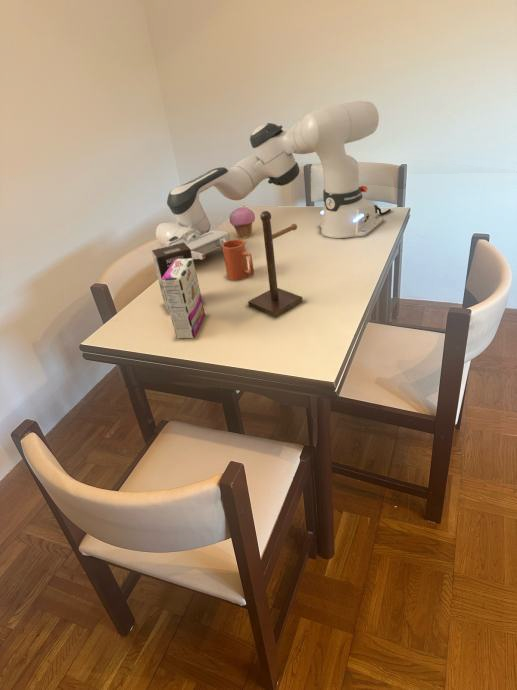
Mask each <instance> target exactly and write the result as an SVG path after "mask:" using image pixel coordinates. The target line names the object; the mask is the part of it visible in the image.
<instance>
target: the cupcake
mask: <svg viewBox="0 0 517 690" xmlns="http://www.w3.org/2000/svg"><path fill="white" fill-rule="evenodd" d="M228 219H229V223H230V224H231V225H232V226H233V227H234V230H235V232H236V235H237V236H238V237H239V238H245V237H246V238H248V237H249V238H250V237H251V235H252V232H253V229H252V228H253V223H254V222H255V220H256V216H255V212H254V211H253V210H251V209H250V208H249V207H247V206H242V207H238V208H236V209H234V210H233V211H232V212H231V213H230V214H229V218H228Z"/></svg>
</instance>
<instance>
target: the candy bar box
mask: <svg viewBox="0 0 517 690" xmlns="http://www.w3.org/2000/svg"><path fill="white" fill-rule="evenodd" d="M161 282H162V285H163V289H164V293H165V297H166V300H167V304H168V307H169V311H170V313H169V314H170V320H171V322H172V326H173V331H174V333H175V337H176V339H178V340H184V339H187V340H189V339H191V340H192V339H195V338H196V336H197V334H198V332H199V330H200V328H201V326H202V324H203V321H204V319H205V318H206V316H207V315H206V312H205V307H204V303H203V297H202V294H201V288H200V284H199V280H198V275H197V269H196V267H195V261H194V259H193V258H183V259H175V260H174V261H173V263H172V264H171V266H170V267H169V269H168V270H167V271H166V273H165V274H164V276H163V277H162V279H161ZM169 311H168V312H169Z"/></svg>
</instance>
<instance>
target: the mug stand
mask: <svg viewBox="0 0 517 690" xmlns="http://www.w3.org/2000/svg"><path fill="white" fill-rule="evenodd" d="M259 216H260V220H261V223H262V234H263V240H264V241H263V242H264V251H265V259H266V268H267V276H268V285H269V286H268V287H269V290H266V291H265V292H263V293H261V294H259V295H258V296H256V297H253V298H252V299H250V300H248V301H247V304H248V307H249V308H252V309H254V310H256V311H258V312H261V313H263V314H265V315H268V316H271V317H273V318H277V317H279V316H281V315H282V314H284V313H286V312H287V311H289V310H290V309H293V308H294V307H296V306H298V305H300V304H301V303H303V296H300V295H298V294H294V293H292V292H290V291H288V290H285V289H282V288H279V287H278V280H277V269H276V260H275V249H274V241H273V240H275V239H277V238H279V237H281V236H283V235H285V234H288V233H290V232H292V231H296V230H297V229H298V225H297V224H296V223H292V224H291V225H290V226H288V227H286V228H284V229H281V230H279V231H277V232H275V233H273V232H272V231H273V230H272V223H271V219H272V214H271V212H270V211H268V210H264V211H262V212H261V213H260V215H259Z"/></svg>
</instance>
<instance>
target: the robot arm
mask: <svg viewBox="0 0 517 690" xmlns="http://www.w3.org/2000/svg"><path fill="white" fill-rule="evenodd" d="M379 121H380V115H379V111H378V109H377V107H376V105H375V104H374V103H373V102H371V101H365V100H363V101H361V100H354V101H350V102H347V103H346V102H345V103H340V104H335V105H331V106H326V107H321V108H320V107H319V108H317V109H316V110H314V111H310V112H309V113H307V114H306V115H305V116H304V117H303V119H300V120H299V121H297V122H295V123H294V124H292V125H291V126H290V127H289V128H288V129H286V130H283V128H284V126H283V125H277V124H276V123H273V122H272V123H271V122H267V123H263V124H260V125H258V126H257V127H255V129H254V130H253V131H252V133H251V135H250V137H249V142H250V145H251V147H252V149H253V150H254V152H255V154H256V155H248V156H245V157H244V158H242V159H240V160H239V161H238V162H236V163H235V164H233V165H232V166H231V167H230V168H226V167H223V166H222V167H221V166H220V167H216V168H213V169H211V170H208V171H207V172H205V173H203V174H201V175H199V176H198V177H196V178H194V179H192V180H190V181H188V182H186V183H183V184H181V185H179V186H176V187H174V188H172V189H171V190H170V191H169V193H168V195H167V198H166V199H167V200H166V205H167V206H168V208H169V210H170V211H171V213H172V214H173V216H174V217H175V219H176V221H174V222H169V221H168V222H165V221H164V222H161V223H159V224H158V225H157V227H156V229H155V238H156V240H157V242H158V244H160V245H161V246H162V248H164V247H168V246H172V245H176V244H180V243H185V244H186V245H187V246H188V247H189V248H190V250H191V255H192V258H193V260H200V261H201V260H202V261H203V260H204V259H206V258H207V256H206V255H207V254H208V253H211V252H213V251H215V250H218V249H220V248H223V247H222V245H223V243H225V242H227V241H230V240H231V236H230V233H229V231H225V230H221V229H212V230H210V229H211V223H210V221H209V217H208V216H207V214H206V212H205V210H204V208H203V206H202V203H201V201H200V194H202V193H203V192H205V191H207V190H209V189H210V188H212V187H215V189H216V190H217V191H218V192H219V193H221V195H222V196H223V197H225V198H226V199H229V200H231V201H241V200H243V199H245V198H246V197H248V196H249V195H250V194H251V193H252V192H253V191H254V190H255V189H256V188H257V187H258V185H260V183H262V182H263V181H264V180H266V179H268V181H267V183H268V184H269V185H271V184H273V185H274V186H281V187H283V186H286V185H289V184H291V183H293V182H294V181H295V180H296V179H297V177H299V175H300V172H301V171H300V166H299V164H298V162H297V160H296V159H295V156H294V154H295V155H296V154H297V155H309V154H313V153H316V155H317V156H318V158H319V160H320V164H321V165H322V166H321V167H322V172H323V183H324V184H323V186H324V187H323V192H322V197H323V205H322V210H321V211H320V215H322V216H321V217H322V219H321V223H320V229H321V232H320V234H321V235H323V236H325V237H328V238H333V239H334V238H335V239H346V238H347V239H348V238H352V237H365V236H367V235H368V234H370V233H371V232H372V231H373V230H374V229H376V228H377V227H378V226H379V225H380V224H382V223H383V221H384V220H383V218H382V217H380V216H384V215H387V214H388V213H390V212H391V211H392V209H391V208H389V209H387V210H386V211H384V212H382V209H381V208H380V207H379V206H378V205H377V204H373V203H372V202H370V201H369V200H368V199H366V198H365V197H363V193H367V192H368V186H367V185H360V165H359V162H358V161H357V159H355V158H354V157H353V156H351V155H348V154H347V153H346V149H345V145H346V144H349V143H353V142H357V141H360V140H363V139H365V138H367V137H369V136H371V135H373V134H374V133H375V132H376V131H377V129H378V126H379ZM377 214H379V216H378V215H377Z"/></svg>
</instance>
